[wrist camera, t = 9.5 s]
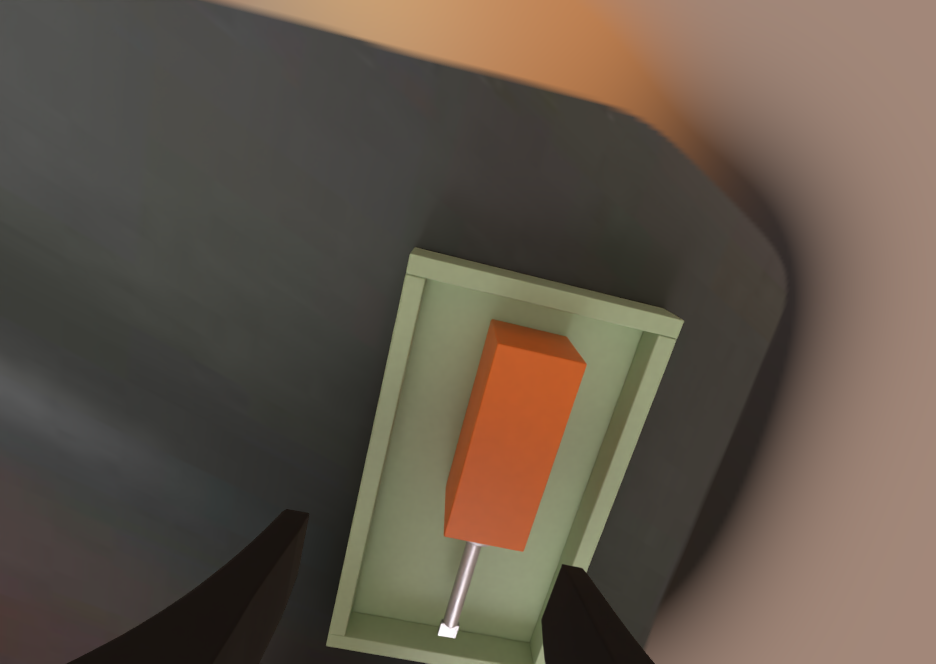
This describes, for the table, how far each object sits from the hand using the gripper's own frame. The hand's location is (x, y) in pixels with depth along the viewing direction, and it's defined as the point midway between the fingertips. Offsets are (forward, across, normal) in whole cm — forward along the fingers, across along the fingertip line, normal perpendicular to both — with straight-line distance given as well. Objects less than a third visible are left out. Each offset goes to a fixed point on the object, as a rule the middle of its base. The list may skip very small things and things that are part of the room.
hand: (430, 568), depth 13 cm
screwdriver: (+9, -3, +3) cm, 10 cm away
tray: (+9, -3, +2) cm, 10 cm away
